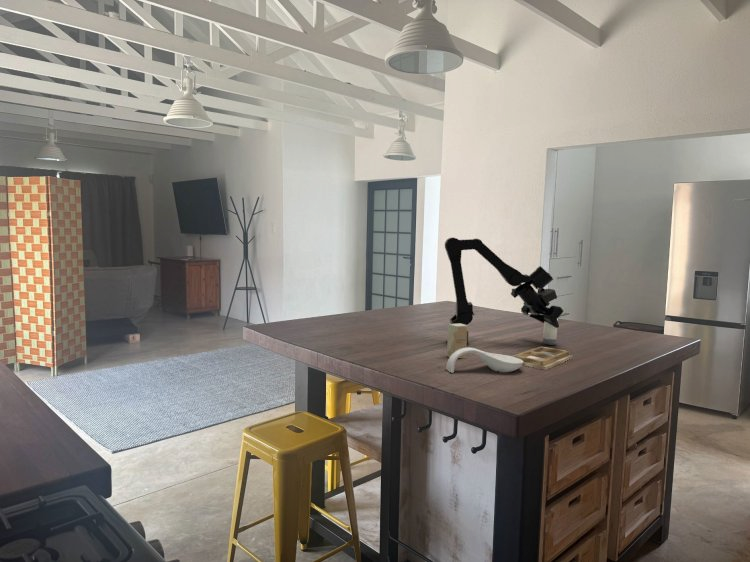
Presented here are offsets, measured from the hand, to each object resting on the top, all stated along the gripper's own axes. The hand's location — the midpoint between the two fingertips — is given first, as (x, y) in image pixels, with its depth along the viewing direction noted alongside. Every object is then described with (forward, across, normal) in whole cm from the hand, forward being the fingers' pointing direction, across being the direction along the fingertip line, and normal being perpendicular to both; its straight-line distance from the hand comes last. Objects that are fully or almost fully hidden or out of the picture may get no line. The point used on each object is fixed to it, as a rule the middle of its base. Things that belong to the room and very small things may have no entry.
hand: (553, 325), depth 199 cm
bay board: (-9, -20, +19) cm, 29 cm away
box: (-27, -10, +37) cm, 47 cm away
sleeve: (+4, 0, +6) cm, 7 cm away
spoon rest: (-26, -27, +37) cm, 52 cm away
